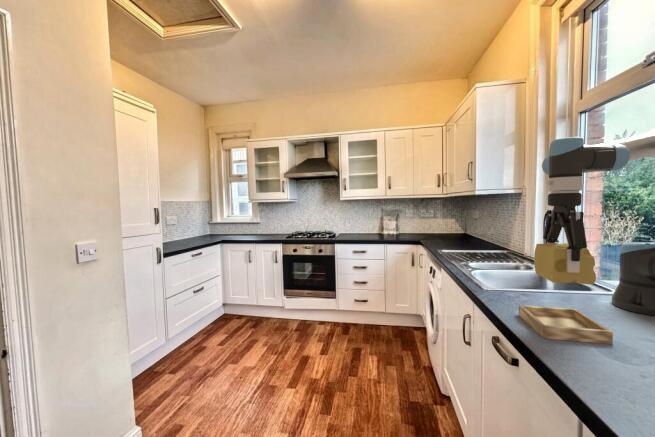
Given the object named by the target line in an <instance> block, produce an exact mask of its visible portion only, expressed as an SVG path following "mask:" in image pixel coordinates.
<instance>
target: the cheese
mask: <svg viewBox="0 0 655 437" xmlns="http://www.w3.org/2000/svg"><path fill="white" fill-rule="evenodd" d="M568 246H569V244H568V242H564V243H559V244H547V243H536V245H535V249H534V253H533V254H534V255H533V256H534V257H533V264H534V271H535V272H534V273H535V274H536V275H537V276H540V277H542V278H544V279H546V280H548V281H550V282H551V283H552V284H553V283H554V284H558V283H559V284H571V283H577V284H581V285H582V284H583V285H595V282H596V280H597V275H596V272H595V270H594V267H595V266H596V260H595V257H594V256H593V255H592V254H591V252H590V250H589V249H588V247H587V248H583V249H581V250H580V273H572V272H566V267H567V247H568Z"/></svg>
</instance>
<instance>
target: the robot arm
mask: <svg viewBox="0 0 655 437" xmlns="http://www.w3.org/2000/svg"><path fill="white" fill-rule="evenodd" d="M548 150H549V151H548V155H547V157H545V158H544V159H543V161H542V164H541V168H542V172H543V173H544V174H545V175H547V176H548V181H547V182H546V184H547V185H548V186H547V187H548V189H547V190H548V192H550V193H549V194H547V206H549V207H552V208H553V209H547V211H546V219H545V226H544V231H543V236H542V237H543V238H542V239H543V240H544V241H545V242H546V244H560V240H559V237H560V235H561V232H562V229H563V230H564V233H565V237H566V240H567V243H568V244H569V246H568V247H567V267H566V272H572V273H580V250H581V249H583V248H587V249H588V242H587V237H586V231H585V230H586V229H585V223H584V216H585V215H584V214H585V213H584V212H583V211H577V210H576V207H580V206H582V200H583V195H582V193H581V191H583V174H585V173H595V172H613V171H619V170H621V169H623V168H625V167H626V166H627V165H628V163H629V162H630V161H633V160H639V159H643V158H648V157H650V158H655V128H652V129H651V130H648V131H647V132H645V133H643V134H638V135H634V136H629V137H626V138H621V139H617V140H613V141H607V142H603V143H599V144H591V145H590V144H585V141H584V138H583V137H582V136H570V137H562V138H558V139H555V140H552V141H551V143H550V144H549V149H548ZM618 279H619V282H618V285H617V286H616V288H615V290H614V292H613V294H612V295H611V304H612V305H614V307H617V308H620V309H623V310H627V311H629V312H633V313H637V314H642V315H647V316H653V317H654V316H655V241H654V242H650V241H649V242H637V241H636V242H625V243H623V244H622V245H621V247H620V253H619V278H618Z"/></svg>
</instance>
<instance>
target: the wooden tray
mask: <svg viewBox="0 0 655 437" xmlns="http://www.w3.org/2000/svg"><path fill="white" fill-rule="evenodd" d="M518 316H519V317H520V318H521V319H522V320H523V321H524V322H525V323H527V324H528V326H530V328H532V330H534V331H535V332H536V334H538V335H539V336H540V337H541V338H542V339H547V340H548V339H549V340H560V341H574V342H584V343H585V342H586V343H593V344H594V343H596V344H607V345H613V340H614V339H613V338H614V336H613V335H614V332H613V331H612V330H610V329H609V328H607V326H603V324H601V323H599V322H597V321H596V320H594V319H592V318H591V317H589V316H587V315H586V314H584V313H583V312H582V311H580V310H578V309H576V308H566V307H552V306H550V307H549V306H537V305H536V306H534V305H518Z"/></svg>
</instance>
